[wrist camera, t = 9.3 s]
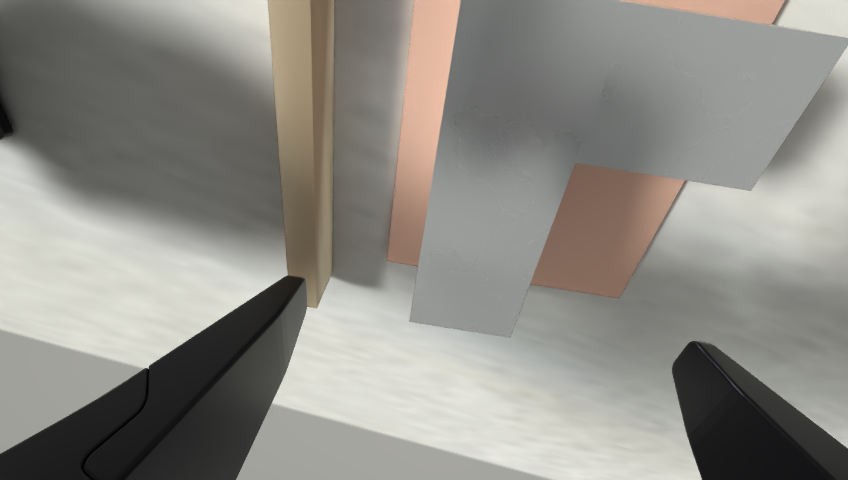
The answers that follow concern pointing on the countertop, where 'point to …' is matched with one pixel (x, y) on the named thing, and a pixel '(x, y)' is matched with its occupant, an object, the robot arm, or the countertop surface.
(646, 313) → the countertop surface
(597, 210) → the pad
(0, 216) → the countertop surface
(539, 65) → the bracket
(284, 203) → the tan corner rail
